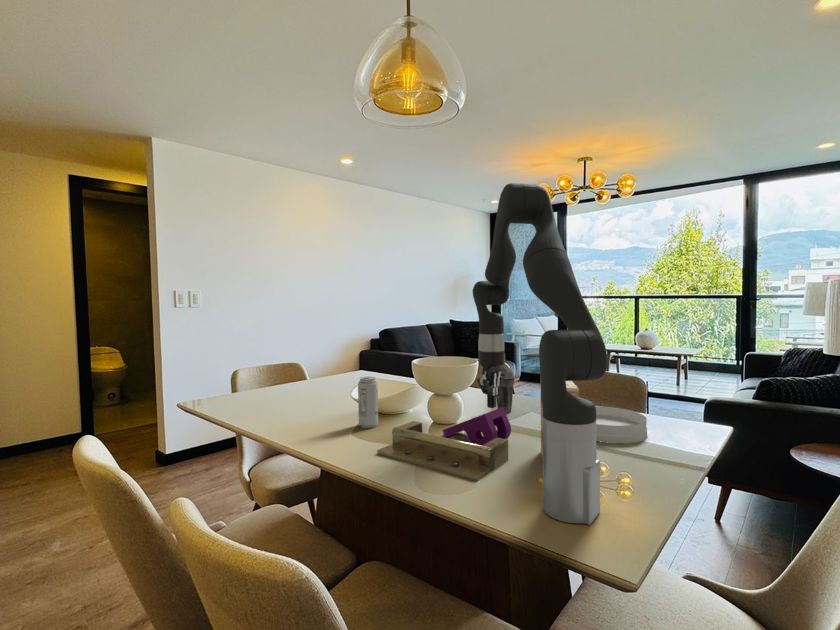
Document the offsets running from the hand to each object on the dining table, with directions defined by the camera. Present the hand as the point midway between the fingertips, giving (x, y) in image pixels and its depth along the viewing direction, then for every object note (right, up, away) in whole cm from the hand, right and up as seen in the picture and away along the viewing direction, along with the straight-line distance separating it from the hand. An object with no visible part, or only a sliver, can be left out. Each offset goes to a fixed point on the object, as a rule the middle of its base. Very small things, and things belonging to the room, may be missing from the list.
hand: (491, 407), depth 130 cm
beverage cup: (+8, -6, +22) cm, 24 cm away
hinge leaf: (-16, -8, -21) cm, 27 cm away
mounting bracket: (-7, -8, -9) cm, 13 cm away
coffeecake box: (+11, -8, -26) cm, 30 cm away
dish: (+32, -7, -2) cm, 33 cm away
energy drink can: (-37, -8, +7) cm, 39 cm away
